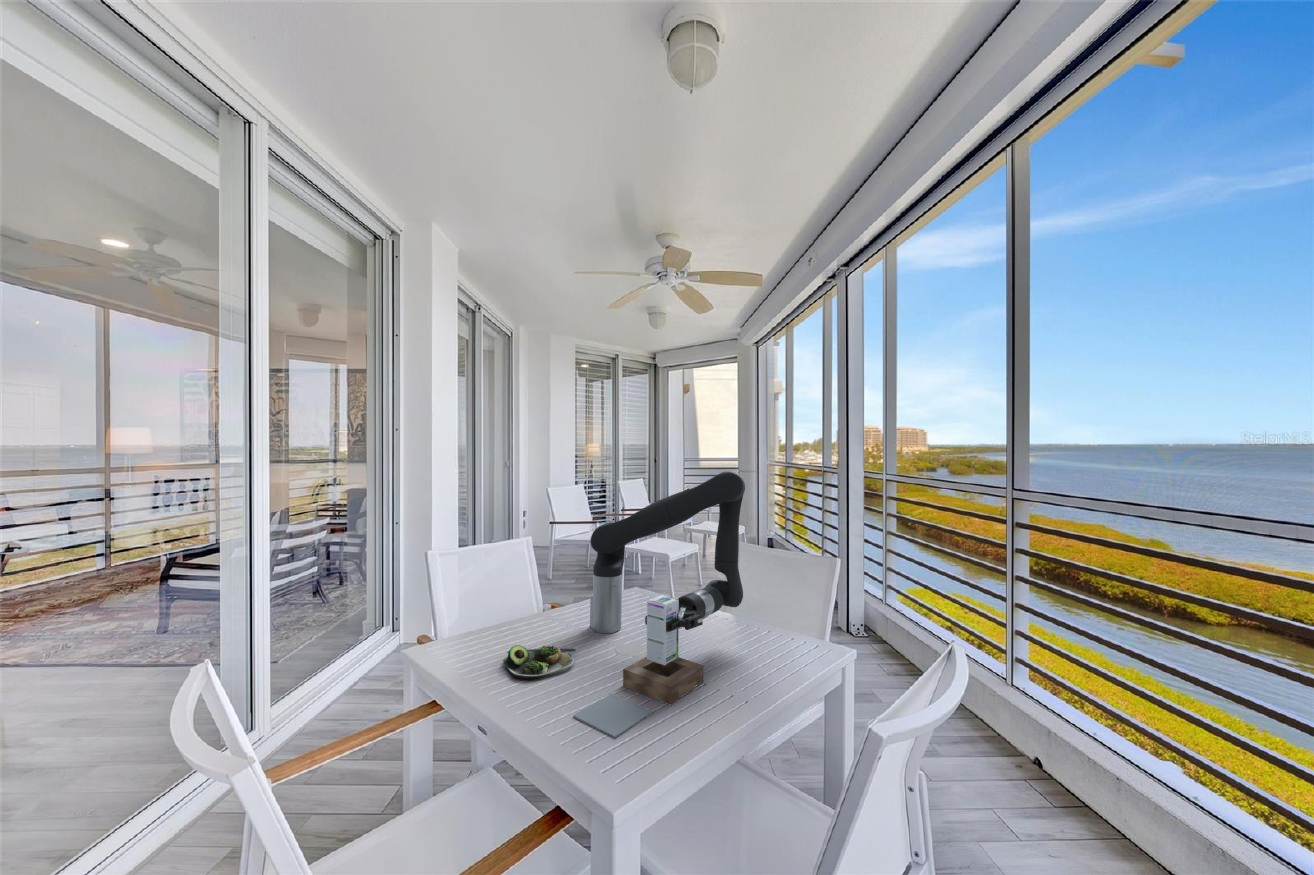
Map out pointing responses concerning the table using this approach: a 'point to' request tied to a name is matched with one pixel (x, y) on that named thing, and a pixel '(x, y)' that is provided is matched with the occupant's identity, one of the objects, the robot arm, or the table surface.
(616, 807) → the table surface
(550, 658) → the salad plate
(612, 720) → the mat
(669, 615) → the syrup box
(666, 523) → the robot arm
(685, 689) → the socket block
